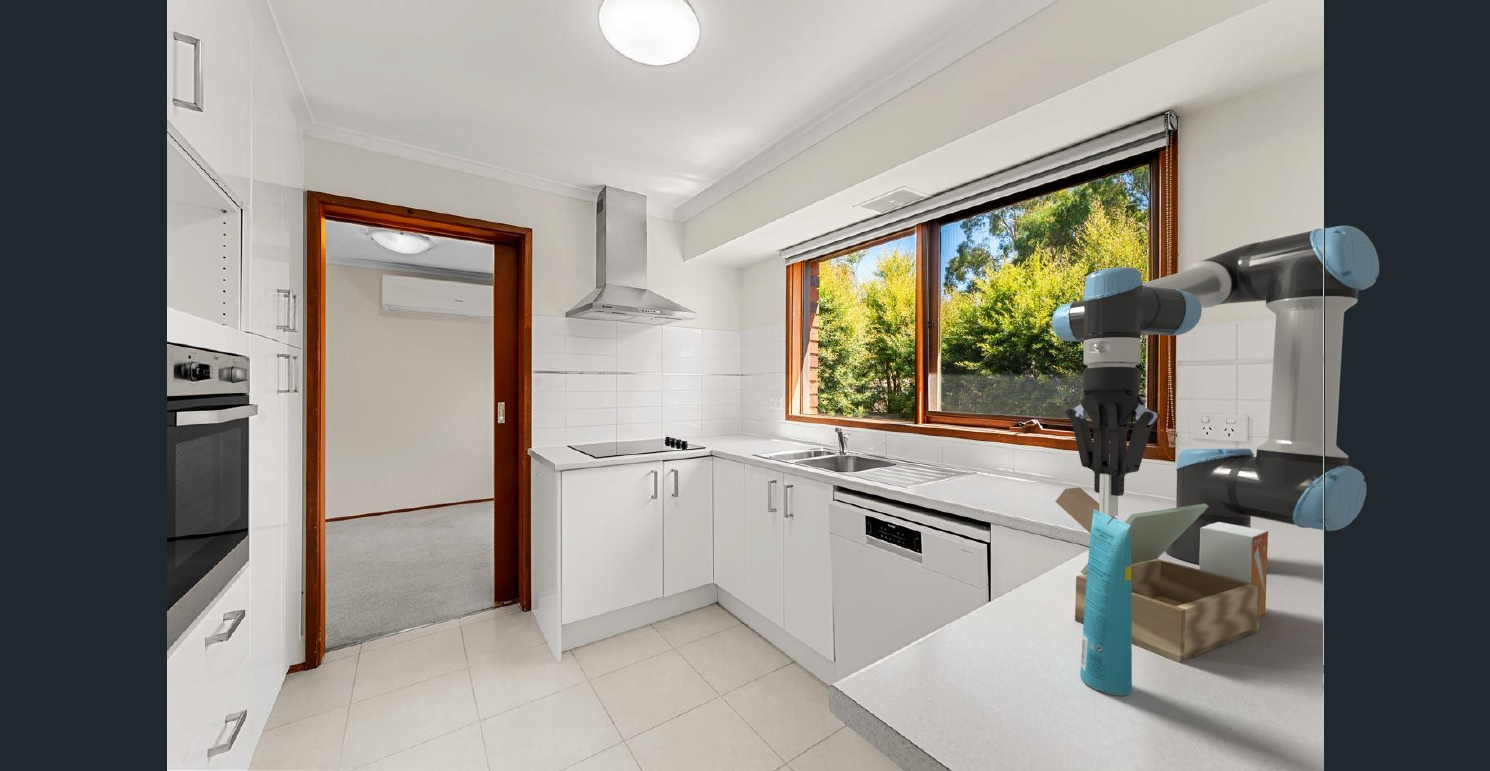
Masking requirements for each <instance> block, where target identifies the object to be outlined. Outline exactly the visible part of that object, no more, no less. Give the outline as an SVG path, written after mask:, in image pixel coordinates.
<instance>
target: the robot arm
mask: <svg viewBox="0 0 1490 771" xmlns="http://www.w3.org/2000/svg"><path fill="white" fill-rule="evenodd" d="M1323 229H1325V527H1326V530H1325V531H1329V532H1330V531H1331V532H1332V531H1337V530H1340V529H1343V528H1346V527H1347V526H1348V525H1350V524H1351V523H1352V522H1353V521H1354V520H1355V519H1356V518H1357V516H1358V515H1359V514H1360V512H1361V510H1362V508H1363V506H1364V502H1365V499H1366V496H1367V482H1366V481H1365V476H1364V474H1363V472H1361V471H1360V470H1358V469H1357V468H1355V467H1353V466H1351V465H1349V455H1348V454H1346V453H1345V452H1344V451H1343V450H1342V449H1340V448H1339V447H1338V445H1337V436H1338V435H1337V433H1338V421H1339V420H1338V419H1339V418H1338V417H1339V401H1340V383H1341V370H1342V367H1341V366H1342V351H1343V350H1342V349H1343V348H1342V347H1343V338H1344V337H1343V336H1344V333H1343V332H1344V318H1345V312H1346V311H1348V309H1350V308H1351V307H1353V306H1354V305H1355V304H1357V303H1358V302H1359V301H1358V300H1359V299H1358V298H1359V291H1364V290H1366V289H1368V288H1370V287H1372V286H1373V285H1374V284H1375V283H1376V282H1377V281H1376V280H1377V278H1378V277H1379V275H1380V262H1379V257H1378V253H1377V251H1376V248H1375V245H1374V244H1373V242H1372V241H1371V240H1370V238H1369V237H1368V235H1366V233H1364V232H1363V231H1362V230H1361V229H1359V228H1357V227H1354V226H1351V225H1338V226H1332V227H1326V228H1314V229H1312V230H1309V231H1305V232H1301V233H1297V234H1291V235H1287V236H1283V237H1277V238H1272V239H1269V240H1263V241H1257V242H1253V243H1247V244H1245V245H1242V246H1238V247H1236V248H1233V249H1230V250H1228V251H1225V252H1223V253H1219V254H1217V255H1214V256H1211V257H1208V258H1206V259H1203V260H1200V261H1197V262H1194V263H1191V264H1189V265H1188V266H1187V267H1186V268H1185V269H1183V271H1180V272H1177V273H1173V274H1170V275H1166V276H1164V277H1163V276H1162V277H1160V278H1155V279H1153V280H1150V281H1146V282H1144V281H1143V280H1142V279H1143V278H1142V272H1141V271H1140V270H1139V269H1138V268H1136V267H1128V266H1125V267H1122V266H1121V267H1111V268H1104V269H1100V270H1096V271H1093V272H1091V273H1090V274H1088V275H1087V277H1086V278H1085V283H1084V284H1085V287H1084V293H1083V294H1084V295H1083V298H1082V299H1083V300H1080V301H1077V300H1076V301H1072V302H1069V303H1064V304H1061V305H1059V307H1057V308H1056V309H1055V310H1054V313H1053V315H1052V318H1051V322H1052V323H1051V324H1052V328H1053V332H1054V334H1055V335H1056V336H1057V338H1059V339H1061V340H1063V341H1066V342H1079V343H1080V342H1082V341H1083V365H1085V366H1087V367H1086V368H1084V370H1082V390H1083V396H1082V398H1081V400H1080V404H1079V405H1077V406H1075V407H1074V408H1068V409H1067V410H1066V411H1065V414H1066V416H1067V417H1068V419H1069V420H1070V422H1071V424H1072V428H1073V433H1074V436H1075V441H1076V445H1077V446H1076V447H1077V450H1078V456H1079V459H1080V463H1081V466H1082V467H1083V468H1087V469H1090V470H1091V471H1092V472H1093V473H1094V474H1093V475H1094V476H1093V478H1094V480H1093V481H1094V483H1093V484H1094V485H1093V486H1094V488H1093V489H1094V492H1095V493H1097V494H1099V499H1098V500H1099V502H1098V503H1099V512H1102V513H1104V514H1106V515H1108V516H1110V517H1111V516H1114V517H1117V516H1119V497H1120V496H1123V495H1124V493H1125V477H1126V475H1127V474H1130V473H1131V474H1132V473H1137V472H1139V471H1140V467H1141V464H1142V460H1143V458H1144V454H1145V450H1146V449H1147V448H1146V447H1147V445H1148V441H1149V438H1150V435H1151V430H1152V427H1154V425H1155V424H1156V423H1157V421H1158V420H1159V419H1160V417H1161V415H1160V413H1159V412H1157V411H1152V410H1150V409H1149V408H1147V407H1145V406H1144V405H1143V401H1142V399H1141V396H1140V390H1141V370H1140V369H1139V368H1138V367H1137V365H1138V366H1139V365H1140V364H1141V363H1142V362H1141V361H1142V360H1141V339H1142V338H1141V337H1142V336H1150V335H1160V336H1162V337H1166V336H1167V337H1168V336H1180V335H1184V334H1187V333H1188V332H1190V331H1191V330H1193V329H1194V328H1195V327H1196V326H1197V324H1198V323H1199V322H1200V320H1201V317H1202V313H1203V308H1212V307H1214V306H1215V307H1216V306H1219V305H1226V304H1237V303H1239V304H1240V303H1249V302H1250V303H1251V302H1252V303H1253V302H1261V301H1263V302H1264V301H1265V307H1266V308H1267V309H1268V310H1270V311H1271V312H1273V313H1274V315H1275V326H1274V328H1275V330H1274V342H1273V343H1274V345H1273V362H1272V376H1271V377H1272V378H1271V393H1270V394H1271V395H1270V409H1269V410H1270V411H1269V425H1268V426H1269V428H1268V438H1267V440H1266V441H1265V442H1263V443H1262V444H1261V445H1258V446H1257V447H1256V453H1255V454H1256V455H1254V452H1253V450H1252V449H1251V448H1187V449H1183V450H1181V451H1180V452H1179V454H1178V457H1177V464H1176V468H1175V470H1176V496H1175V497H1176V502H1175V504H1176V507H1175V508H1178V507H1185V506H1192V505H1199V504H1206V505H1208V506H1209V507H1208V508H1207V509H1206V510H1205V511H1204V512H1203V513H1202V514H1201V515H1200V516H1199V517H1198V518H1197V519H1196V520H1195V521H1194V522H1193V523H1192V524H1191V525H1190V526H1189V527H1188V528H1187V529H1186V530H1185V531H1184V532H1183V533H1182V534H1181V535H1180V536H1179V537H1178V538H1177V539H1176V540H1175V541H1174V542H1173V543H1172V544H1171V545H1170V546H1169V548H1168V549H1167V550H1166V551H1165V552H1164V553H1166V554H1168V555H1169V556H1172V557H1173V558H1177V559H1179V560H1183V561H1186V562H1189V563H1193V564H1198V565H1199V560H1200V529H1201V527H1204V526H1207V525H1209V524H1214V523H1217V522H1222V523H1227V524H1233V525H1238V526H1244V527H1249V528H1252V527H1251V526H1252V524H1251V521H1252V519H1251V518H1252V517H1253V518H1259V519H1263V520H1269V521H1272V522H1273V521H1274V522H1277V523H1278V522H1279V523H1284V524H1287V525H1293V526H1297V528H1302V529H1314V530H1321V531H1324V530H1323ZM1087 417H1089V418H1090V420H1091V429H1092V431H1093V432H1092V433H1093V435H1092V434H1091V430H1090V425H1089V422H1088V420H1087ZM1134 417H1135V420H1136V422H1135V424H1134V427H1133V429H1132V433H1131V436H1130V439H1129V443H1128V440H1127V439H1128V438H1127V437H1128V432H1129V429H1130V428H1129V427H1130V422H1131V420H1132V419H1133V418H1134ZM1092 436H1093V437H1092ZM1127 443H1128V444H1127Z"/></svg>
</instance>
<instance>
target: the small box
mask: <svg viewBox="0 0 1490 771" xmlns="http://www.w3.org/2000/svg"><path fill="white" fill-rule="evenodd" d="M1268 540H1269V530H1265V529H1259V528H1254V527H1251V528H1249V527H1244V526H1238V525H1233V524H1227V523H1222V522H1217V523H1214V524H1209V525H1207V526H1204V527H1201V529H1200V560H1199V564H1198V565H1199V568H1198V569H1199V570H1203V571H1207V572H1211V573H1214V574H1218V575H1222V576H1226V577H1230V578H1233V579H1237V580H1241V581H1245V582H1249V583H1252V584H1256V585H1260V586H1261V599H1260V617H1262V616H1264V615H1265V614H1266V608H1267V605H1266V603H1267V602H1266V600H1267V576H1268V575H1267V573H1268V546H1269V545H1268Z"/></svg>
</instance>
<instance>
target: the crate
mask: <svg viewBox="0 0 1490 771" xmlns="http://www.w3.org/2000/svg"><path fill="white" fill-rule="evenodd" d="M1086 584H1087V575H1083V574H1081V575H1075V600H1074V601H1075V606H1074V607H1075V609H1074V621H1075V622H1077V623H1080V624H1082V625H1084V612H1085V598H1086ZM1131 592H1132V645H1135V646H1138V647H1139V648H1142V649H1144V650H1148V651H1149V652H1152V653H1154V654H1157V655H1159V656H1162V657H1165V658H1167V659H1169V660H1172V661H1174V662H1177V663H1179V664H1180V663H1184V662H1186V661H1189V660H1190V659H1193V658H1196V657H1199V656H1201V655H1203V654H1206V653H1208V652H1211V651H1214V650H1216V649H1218V648H1220V647H1223V646H1226V645H1229V644H1230V643H1234V642H1236V641H1239V640H1241V639H1243V638H1246V637H1248V636H1251V635H1253V634H1256V633H1259V632H1260V631H1261V627H1260V626H1261V616H1260V599H1261V586H1260V585H1256V584H1252V583H1249V582H1245V581H1241V580H1237V579H1233V578H1230V577H1226V576H1222V575H1218V574H1214V573H1211V572H1207V571H1203V570H1199V568H1195V567H1190V566H1187V565H1183V564H1180V563H1177V562H1176V563H1175V562H1172V561H1168V560H1165V559H1161V558H1158V559H1154V560H1150V561H1145V562H1141V563H1136V564H1132V565H1131Z"/></svg>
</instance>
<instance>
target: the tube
mask: <svg viewBox="0 0 1490 771" xmlns="http://www.w3.org/2000/svg"><path fill="white" fill-rule="evenodd" d="M1115 518H1116V517H1115ZM1115 518H1112V517H1110V516H1108V515H1106V514H1104V513H1102V512H1099V511H1097V510H1095V509H1093V518H1092V526H1091V534H1090V536H1089V544H1088V545H1089V547H1088V559H1087V560H1088V561H1087V564H1088V570H1087V584H1086V598H1085V612H1084V624H1083V631H1082V642H1081V644H1082V645H1081V658H1080V674H1079V675H1080V679H1081V680H1082V682H1083V683H1085V684H1086V685H1087V686H1089V687H1090V688H1093V690H1097V691H1099V692H1103V693H1105V694H1108V695H1109V694H1110V695H1112V696H1113V695H1114V696H1128V695H1131V693H1132V692H1133V691H1132V689H1133V688H1132V687H1133V678H1132V677H1133V667H1132V666H1133V658H1132V657H1133V655H1132V654H1133V652H1132V647H1133V646H1132V645H1133V644H1132V592H1131V547H1130V528H1131V526H1132V525H1129V524H1127V523H1124V522H1125V521H1121V520H1119V519H1118V518H1117V519H1118V520H1117V519H1115Z"/></svg>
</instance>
